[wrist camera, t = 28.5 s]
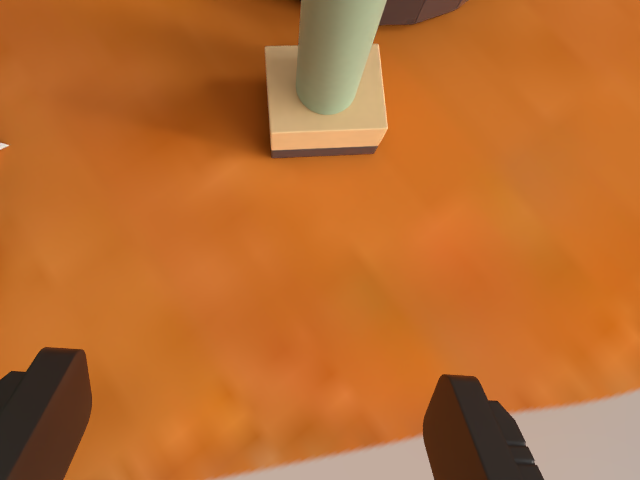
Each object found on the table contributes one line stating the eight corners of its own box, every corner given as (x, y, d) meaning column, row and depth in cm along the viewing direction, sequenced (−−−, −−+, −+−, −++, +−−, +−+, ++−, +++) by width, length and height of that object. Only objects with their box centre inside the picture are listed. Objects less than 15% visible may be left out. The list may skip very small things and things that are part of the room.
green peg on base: (271, 158, 22) (263, 1, 11) (266, 81, 23) (254, -137, 12) (374, 154, 23) (460, -1, 12) (366, 78, 23) (441, -134, 13)
